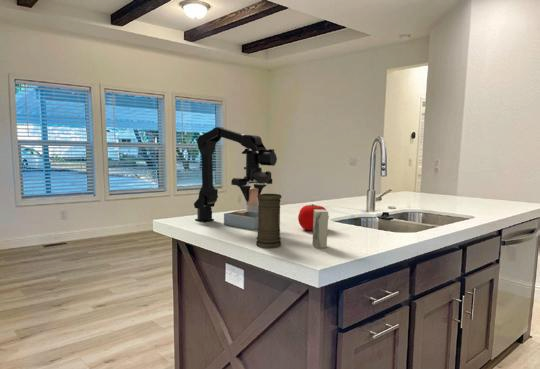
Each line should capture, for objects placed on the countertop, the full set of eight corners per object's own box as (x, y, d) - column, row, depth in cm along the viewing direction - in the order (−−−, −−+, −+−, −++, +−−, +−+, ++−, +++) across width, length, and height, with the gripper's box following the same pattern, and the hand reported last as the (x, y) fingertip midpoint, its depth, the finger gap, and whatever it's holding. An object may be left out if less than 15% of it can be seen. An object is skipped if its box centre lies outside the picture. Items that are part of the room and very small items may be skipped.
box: (312, 244, 136) (313, 209, 135) (324, 244, 137) (325, 209, 135) (315, 248, 131) (316, 211, 130) (327, 248, 131) (328, 211, 130)
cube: (242, 224, 168) (242, 212, 167) (233, 222, 171) (233, 211, 170) (249, 222, 172) (249, 211, 171) (240, 220, 175) (240, 210, 174)
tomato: (292, 229, 161) (292, 204, 160) (310, 225, 170) (311, 201, 169) (314, 234, 153) (315, 207, 152) (333, 229, 162) (333, 204, 161)
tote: (223, 224, 169) (223, 213, 168) (243, 220, 179) (243, 209, 179) (254, 230, 159) (254, 218, 158) (272, 225, 169) (272, 214, 169)
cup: (260, 220, 181) (261, 195, 180) (244, 219, 182) (244, 194, 181) (264, 217, 189) (264, 193, 187) (248, 216, 190) (248, 192, 189)
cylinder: (251, 205, 160) (251, 189, 159) (244, 204, 164) (244, 188, 163) (260, 204, 163) (260, 188, 163) (252, 203, 167) (253, 187, 166)
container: (263, 249, 128) (263, 196, 127) (251, 243, 136) (252, 193, 135) (285, 246, 133) (287, 195, 131) (273, 240, 141) (274, 192, 139)
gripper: (247, 166, 150) (247, 205, 151) (281, 165, 162) (280, 201, 164) (230, 164, 158) (230, 202, 159) (264, 164, 170) (263, 198, 172)
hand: (252, 201), depth 163 cm, fingers closed on cylinder, 5 cm apart
